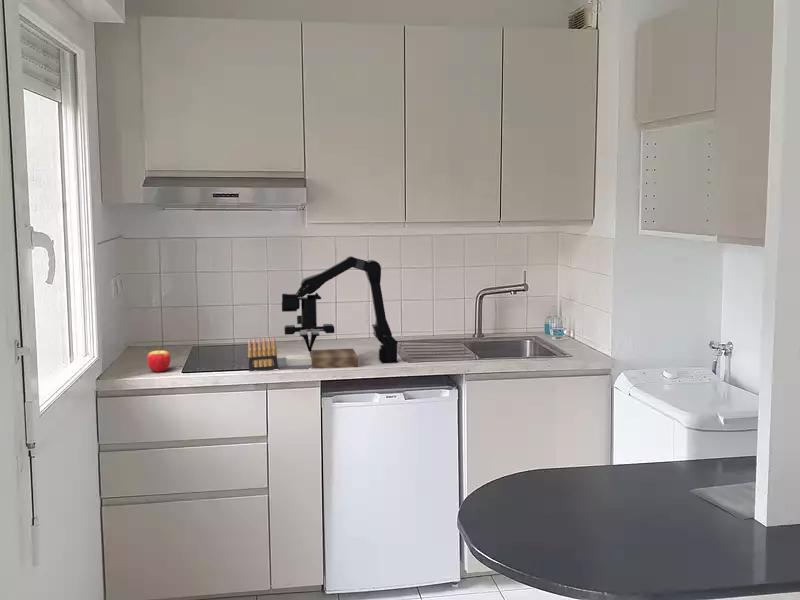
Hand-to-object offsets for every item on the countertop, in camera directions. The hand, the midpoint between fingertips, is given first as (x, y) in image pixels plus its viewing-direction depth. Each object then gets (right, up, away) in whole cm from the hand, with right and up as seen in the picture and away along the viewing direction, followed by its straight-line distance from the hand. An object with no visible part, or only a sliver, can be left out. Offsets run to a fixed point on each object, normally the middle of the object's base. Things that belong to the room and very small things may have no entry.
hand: (309, 351), depth 312 cm
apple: (-54, -7, -11) cm, 56 cm away
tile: (-4, -5, 0) cm, 6 cm away
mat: (-7, -5, +1) cm, 9 cm away
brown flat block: (+9, -5, +2) cm, 10 cm away
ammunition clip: (-16, -6, -9) cm, 20 cm away
